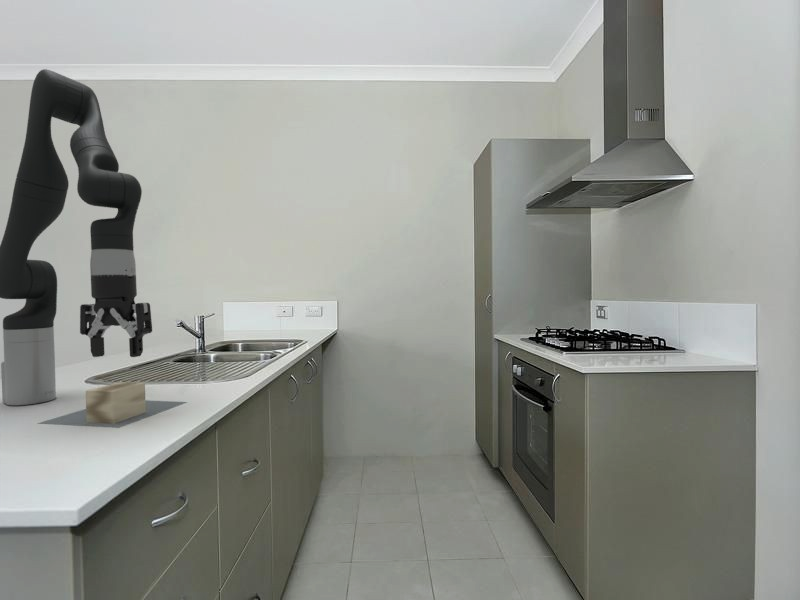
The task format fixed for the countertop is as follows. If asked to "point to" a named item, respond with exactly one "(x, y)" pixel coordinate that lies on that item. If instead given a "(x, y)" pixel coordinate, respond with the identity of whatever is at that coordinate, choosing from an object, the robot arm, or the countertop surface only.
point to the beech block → (115, 402)
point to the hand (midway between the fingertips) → (117, 356)
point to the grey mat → (81, 420)
